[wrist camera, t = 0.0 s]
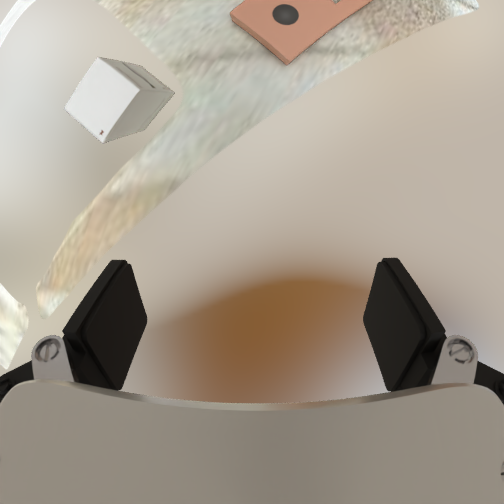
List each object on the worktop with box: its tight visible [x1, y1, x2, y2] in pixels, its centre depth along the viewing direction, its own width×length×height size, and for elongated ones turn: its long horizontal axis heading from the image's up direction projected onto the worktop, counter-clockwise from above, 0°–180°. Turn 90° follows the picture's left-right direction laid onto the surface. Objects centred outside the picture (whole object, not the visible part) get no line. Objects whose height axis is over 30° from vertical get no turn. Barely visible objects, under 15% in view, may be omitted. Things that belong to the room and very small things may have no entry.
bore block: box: [230, 0, 373, 65], centre depth 24 cm, size 18×10×4 cm, turn 136°
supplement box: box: [64, 57, 175, 144], centre depth 28 cm, size 7×7×13 cm
